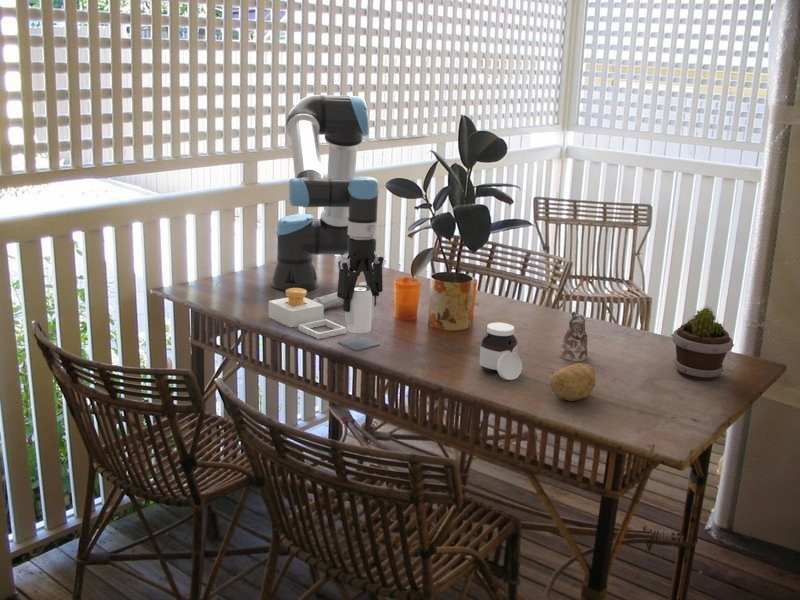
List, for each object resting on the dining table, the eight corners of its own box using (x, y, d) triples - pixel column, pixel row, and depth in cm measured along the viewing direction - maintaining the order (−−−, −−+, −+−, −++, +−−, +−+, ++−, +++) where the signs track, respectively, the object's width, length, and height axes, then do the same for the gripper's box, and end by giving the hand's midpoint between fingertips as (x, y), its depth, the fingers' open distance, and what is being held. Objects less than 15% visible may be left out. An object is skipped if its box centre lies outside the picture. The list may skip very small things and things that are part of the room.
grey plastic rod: (303, 299, 264) (366, 275, 279) (305, 319, 266) (367, 295, 282) (314, 303, 260) (377, 279, 276) (316, 324, 263) (378, 299, 278)
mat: (361, 337, 244) (361, 335, 244) (379, 345, 238) (379, 344, 238) (337, 342, 239) (337, 341, 239) (356, 351, 233) (356, 349, 233)
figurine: (564, 361, 233) (569, 318, 229) (556, 352, 239) (560, 310, 236) (590, 360, 234) (595, 318, 230) (581, 351, 241) (585, 309, 237)
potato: (603, 394, 212) (607, 363, 210) (578, 412, 201) (581, 379, 199) (566, 384, 217) (570, 353, 215) (540, 400, 206) (543, 369, 204)
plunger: (298, 311, 260) (298, 286, 258) (310, 317, 256) (310, 291, 254) (281, 315, 257) (281, 289, 254) (293, 320, 252) (293, 294, 250)
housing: (299, 311, 264) (299, 295, 263) (348, 332, 247) (348, 315, 246) (268, 317, 257) (268, 300, 256) (316, 339, 240) (316, 322, 239)
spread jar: (493, 361, 231) (497, 318, 227) (532, 371, 225) (536, 328, 221) (470, 373, 221) (473, 329, 218) (510, 385, 215) (513, 340, 212)
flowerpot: (674, 359, 238) (684, 288, 232) (733, 372, 230) (745, 299, 225) (660, 375, 226) (670, 301, 220) (721, 389, 218) (734, 312, 213)
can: (343, 332, 235) (344, 289, 232) (351, 325, 241) (352, 283, 238) (366, 335, 234) (368, 292, 230) (373, 328, 240) (375, 286, 236)
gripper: (341, 243, 221) (339, 330, 228) (399, 235, 233) (395, 318, 240) (323, 237, 227) (322, 323, 233) (381, 230, 239) (378, 311, 245)
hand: (359, 320), depth 237 cm, fingers closed on can, 6 cm apart
